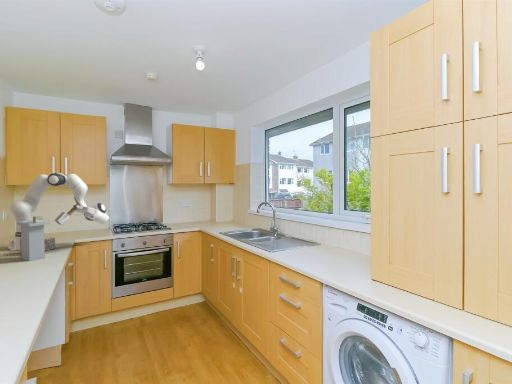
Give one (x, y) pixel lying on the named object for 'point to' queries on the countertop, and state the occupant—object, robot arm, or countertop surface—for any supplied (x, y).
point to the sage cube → (37, 219)
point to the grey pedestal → (32, 240)
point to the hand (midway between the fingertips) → (75, 205)
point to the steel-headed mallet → (65, 216)
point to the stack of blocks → (46, 243)
